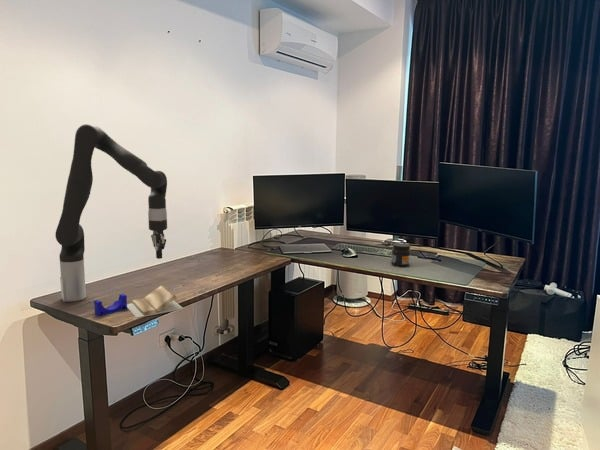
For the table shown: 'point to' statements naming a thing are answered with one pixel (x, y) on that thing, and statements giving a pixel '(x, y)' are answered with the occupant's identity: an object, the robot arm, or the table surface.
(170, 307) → the plate
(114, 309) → the blue cradle holder
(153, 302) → the click plank
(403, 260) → the supplement container
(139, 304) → the laid plank
